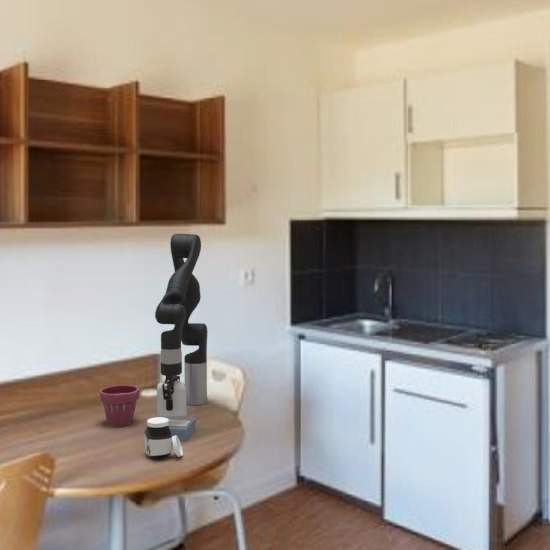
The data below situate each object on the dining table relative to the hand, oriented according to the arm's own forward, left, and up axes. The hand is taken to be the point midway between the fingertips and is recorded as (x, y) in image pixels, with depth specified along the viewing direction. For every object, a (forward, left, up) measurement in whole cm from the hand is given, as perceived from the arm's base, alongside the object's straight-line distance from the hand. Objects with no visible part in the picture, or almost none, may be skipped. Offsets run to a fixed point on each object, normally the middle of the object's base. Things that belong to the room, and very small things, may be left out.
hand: (171, 408), depth 234 cm
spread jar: (+21, +4, -10) cm, 23 cm away
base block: (0, 0, -9) cm, 9 cm away
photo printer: (0, 0, -3) cm, 3 cm away
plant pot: (-10, -23, -10) cm, 27 cm away
